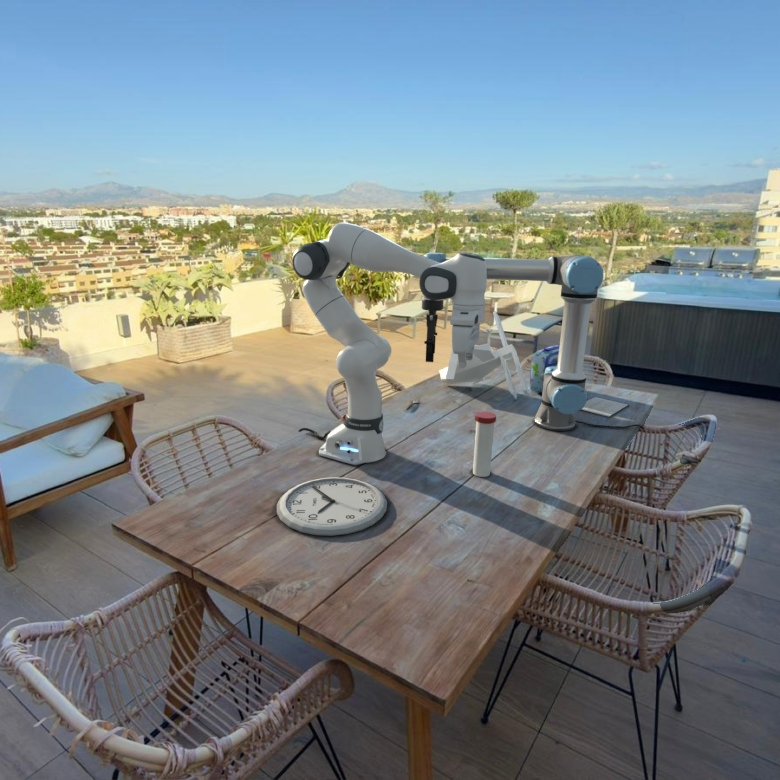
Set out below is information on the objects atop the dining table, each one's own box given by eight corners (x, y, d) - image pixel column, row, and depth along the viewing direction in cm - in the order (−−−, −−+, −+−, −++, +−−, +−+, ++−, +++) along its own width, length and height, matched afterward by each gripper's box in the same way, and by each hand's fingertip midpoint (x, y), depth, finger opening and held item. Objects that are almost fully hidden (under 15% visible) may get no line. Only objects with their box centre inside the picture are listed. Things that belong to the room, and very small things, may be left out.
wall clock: (392, 527, 129) (268, 531, 127) (391, 533, 130) (269, 537, 127) (383, 473, 158) (282, 475, 155) (383, 478, 158) (282, 480, 156)
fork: (403, 410, 217) (403, 406, 216) (415, 399, 231) (415, 395, 231) (409, 411, 216) (409, 406, 215) (420, 400, 230) (420, 395, 230)
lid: (494, 424, 154) (494, 419, 154) (473, 422, 156) (473, 416, 155) (496, 418, 160) (497, 412, 159) (476, 415, 162) (477, 410, 161)
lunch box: (546, 398, 236) (551, 353, 229) (525, 393, 243) (529, 349, 237) (573, 387, 253) (579, 344, 247) (553, 382, 260) (558, 341, 254)
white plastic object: (461, 429, 252) (437, 405, 227) (444, 352, 274) (420, 323, 250) (535, 404, 240) (518, 377, 215) (510, 326, 262) (492, 293, 237)
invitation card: (608, 416, 214) (573, 407, 224) (608, 416, 214) (573, 408, 224) (628, 404, 229) (594, 396, 238) (628, 405, 229) (594, 397, 238)
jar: (488, 478, 160) (493, 420, 154) (471, 475, 161) (475, 417, 156) (490, 470, 165) (495, 414, 159) (474, 468, 166) (478, 412, 161)
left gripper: (464, 308, 153) (462, 354, 157) (448, 319, 135) (446, 371, 139) (486, 309, 151) (483, 356, 155) (473, 320, 133) (470, 373, 137)
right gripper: (424, 293, 195) (422, 349, 202) (419, 302, 172) (417, 365, 178) (444, 294, 195) (441, 350, 201) (442, 303, 171) (439, 366, 177)
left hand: (465, 363), depth 147 cm, fingers open, 8 cm apart
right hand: (430, 357), depth 190 cm, fingers open, 13 cm apart
